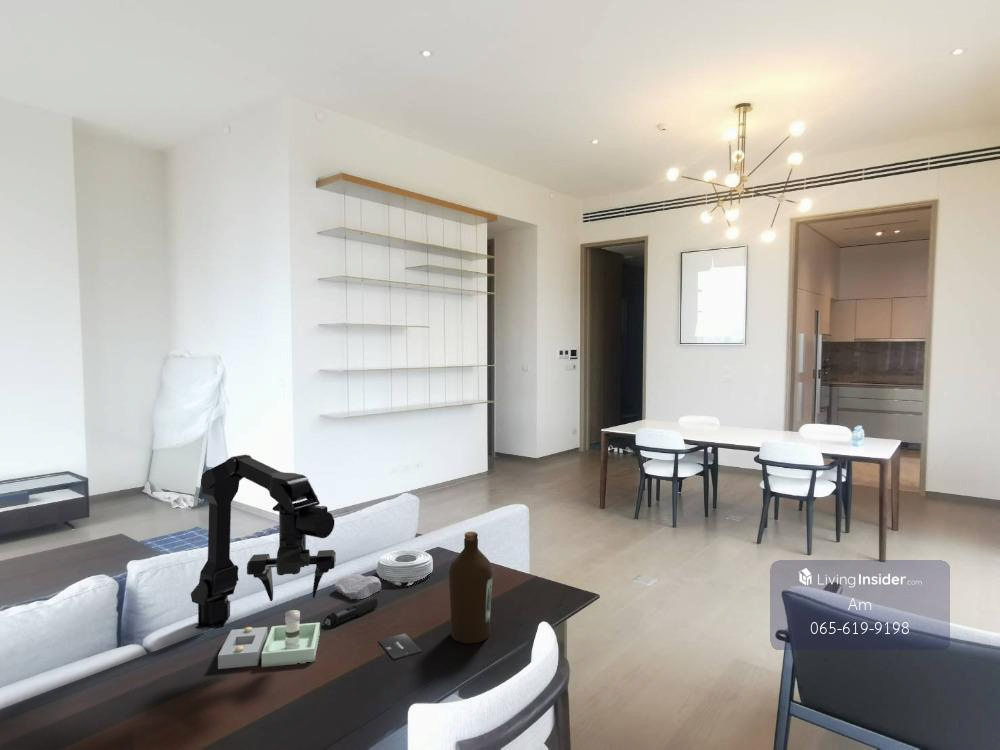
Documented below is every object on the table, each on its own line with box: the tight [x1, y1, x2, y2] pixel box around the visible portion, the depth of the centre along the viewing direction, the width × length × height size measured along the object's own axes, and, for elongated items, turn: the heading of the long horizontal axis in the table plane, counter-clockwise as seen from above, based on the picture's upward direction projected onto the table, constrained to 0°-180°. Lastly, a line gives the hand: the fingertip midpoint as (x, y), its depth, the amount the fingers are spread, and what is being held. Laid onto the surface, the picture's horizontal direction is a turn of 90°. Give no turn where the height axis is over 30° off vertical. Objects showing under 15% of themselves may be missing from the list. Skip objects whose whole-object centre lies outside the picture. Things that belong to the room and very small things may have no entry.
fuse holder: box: [217, 626, 269, 670], centre depth 132 cm, size 8×12×4 cm, turn 12°
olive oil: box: [448, 531, 494, 644], centre depth 142 cm, size 11×11×25 cm
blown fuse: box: [284, 609, 301, 650], centre depth 133 cm, size 3×3×8 cm
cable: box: [375, 548, 434, 587], centre depth 181 cm, size 18×18×6 cm
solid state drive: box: [377, 633, 423, 661], centre depth 136 cm, size 7×10×1 cm
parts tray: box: [261, 622, 321, 668], centre depth 134 cm, size 11×13×3 cm
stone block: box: [333, 572, 382, 599], centre depth 167 cm, size 12×5×10 cm
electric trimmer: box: [322, 597, 378, 629], centre depth 151 cm, size 4×16×3 cm, turn 139°
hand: (292, 598), depth 133 cm, fingers open, 9 cm apart
